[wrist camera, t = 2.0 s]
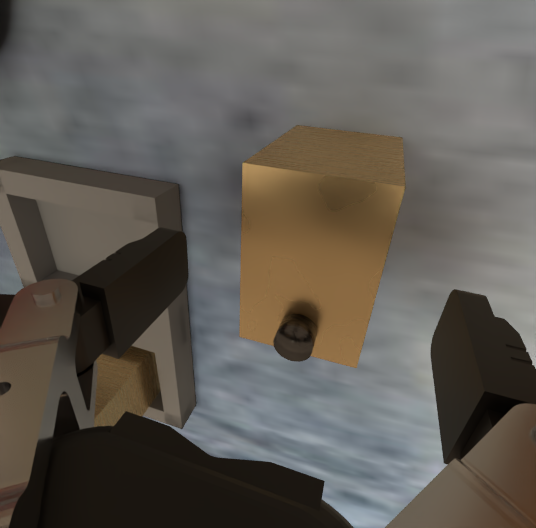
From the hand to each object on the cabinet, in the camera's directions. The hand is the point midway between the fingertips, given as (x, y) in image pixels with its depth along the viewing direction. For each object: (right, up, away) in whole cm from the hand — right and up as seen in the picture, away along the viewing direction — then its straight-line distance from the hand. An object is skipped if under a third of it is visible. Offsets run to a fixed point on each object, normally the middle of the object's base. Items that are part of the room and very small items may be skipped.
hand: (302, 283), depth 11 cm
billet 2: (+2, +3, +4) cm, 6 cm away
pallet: (-11, -2, +12) cm, 16 cm away
